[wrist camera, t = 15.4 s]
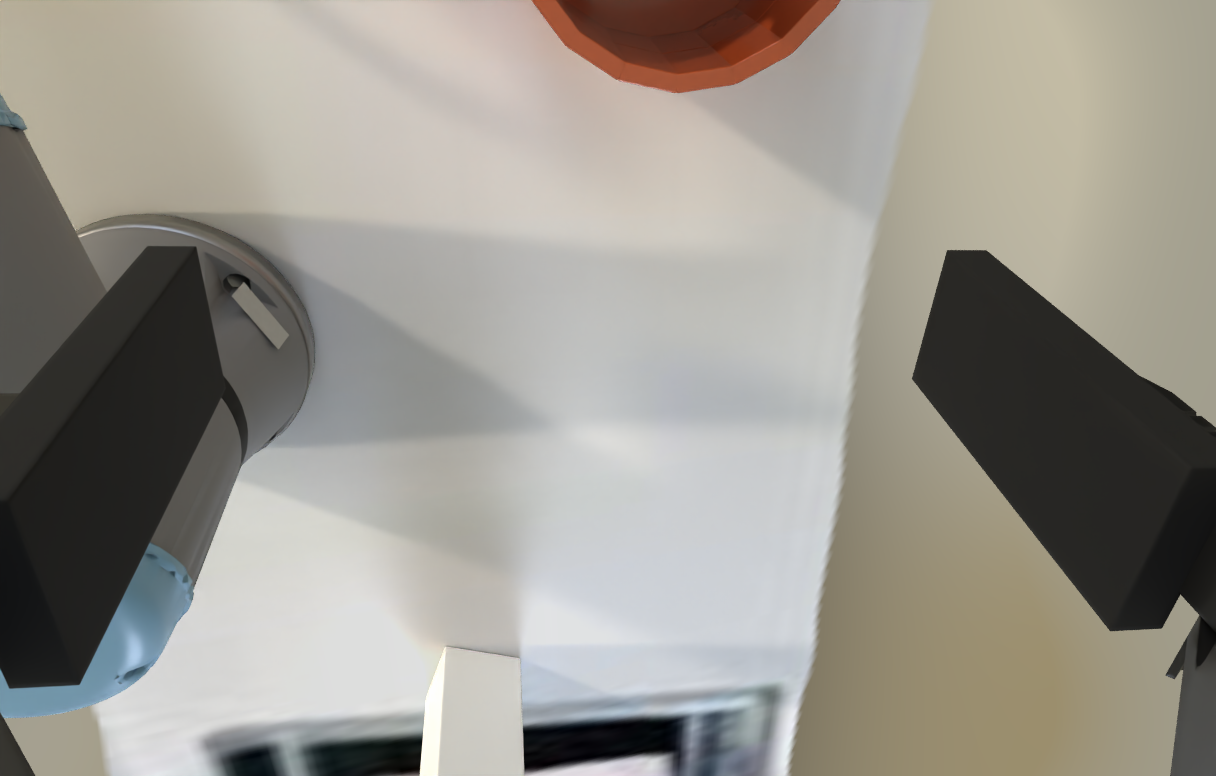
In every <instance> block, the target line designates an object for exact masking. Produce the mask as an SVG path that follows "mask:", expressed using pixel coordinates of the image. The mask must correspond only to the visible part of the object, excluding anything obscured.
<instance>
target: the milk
mask: <svg viewBox="0 0 1216 776" xmlns="http://www.w3.org/2000/svg"><path fill="white" fill-rule="evenodd" d="M420 776H524V753H523V721H522V690H521V660H520V658H516V657H509V656H503V655H497V654H491V653H484V652H478V651H472V650H466V649H459V648H453V647H445V649H444V651H443V654H442V657H441V659H440V662H439V665H438V667H437V670H436V673H435V675H434V678H433V681H432V683H431V686H430V689H429V691H428V694H427V697H426V706H425V718H424V731H423V743H422V756H421V768H420Z"/></svg>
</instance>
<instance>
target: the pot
mask: <svg viewBox="0 0 1216 776" xmlns="http://www.w3.org/2000/svg"><path fill="white" fill-rule="evenodd" d="M532 2H533V3H534V4H535V6H536V7H537V8H538V10H539V11H540V12H541V14H542V15H543V16H544V18H545V19H546V21H547V22H548V23H549V25H550V26H551V27H552V29H553V30H554V31H555V33H556V34H557V35H558V37H559V38H560V39H561V41H562V42H563V43H564V45H565V46H567V47H568V48H569V49H570V50H572V51H574V52H575V53H577V54H578V55H580V56H581V57H583V58H584V59H586V60H587V61H589V62H590V63H592V64H593V65H595V66H596V67H598V68H599V69H601V70H602V71H604V72H605V73H607V74H609V75H610V76H612V77H613V78H615V79H616V80H619V81H621V82H626V83H631V84H635V85H640V86H644V87H649V88H653V89H658V90H663V91H667V92H672V93H676V92H677V93H683V92H689V91H696V90H702V89H709V88H716V87H722V86H729V85H734V84H735V83H736V84H737V83H739V82H741V81H743V80H745V79H747V78H749V77H750V76H752V75H754V74H756V73H758V72H760V71H762V70H763V69H765V68H767V67H769V66H771V65H773V64H775V63H776V62H778V61H780V60H782V59H784V58H786V57H788V56H789V55H790V54H792V53H793V52H794V51H795V50H796V49H797V48H798V47H799V46H800V45H801V44H802V43H803V42H804V40H805V39H806V38H807V37H808V36H809V35H810V34H811V33H812V32H813V31H814V30H815V29H816V28H817V27H818V26H819V25H820V24H821V23H822V22H823V21H824V20H825V18H826V17H827V16H828V15H829V14H830V13H831V12H832V11H833V10H834V9H835V8H836V7H837V5H838V4H839V2H840V0H532Z"/></svg>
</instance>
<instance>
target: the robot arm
mask: <svg viewBox="0 0 1216 776" xmlns="http://www.w3.org/2000/svg"><path fill="white" fill-rule="evenodd" d="M26 129H27V127H26V125H25V123H24V121H23V119H22V118H21V117H20V116H19V115H18V114H16V113H14V112H11V111H10V109H9V107H8V106H7V104H6V102H5V101H4V99H3V97H2V96H1V94H0V776H35V774H34V773H33V771H32V769H31V767H30V765H29V763H28V762H27V760H26V758H25V756H24V755H23V753H22V751H21V749H20V747H19V745H18V744H17V742H16V740H15V738H14V736H13V735H12V733H11V731H10V729H9V727H8V726H7V724H6V722H5V720H4V718H22V717H23V718H24V717H36V716H46V715H53V714H59V713H64V712H69V711H73V710H77V709H80V708H84V707H87V706H90V705H93V704H96V703H98V702H101V701H103V700H106V699H108V698H110V697H112V696H114V695H116V694H118V693H120V692H121V691H123V690H125V689H127V688H128V687H130V686H131V685H132V684H134V683H135V682H136V681H137V680H139V679H140V678H141V677H142V676H143V675H145V674H146V673H147V671H148V670H149V669H150V668H151V667H152V666H153V665H154V664H155V662H156V661H157V659H158V658H159V656H160V655H161V653H162V652H163V650H164V648H165V646H166V644H167V641H168V640H169V638H170V636H171V634H172V632H173V630H174V628H175V626H176V624H177V622H178V621H179V620H180V619H181V617H182V616H183V615H184V614H185V613H186V612H187V611H188V609H189V607H190V605H191V602H192V600H193V595H194V593H193V589H194V587H195V584H196V581H197V579H198V576H199V574H200V571H201V568H202V566H203V563H204V561H205V558H206V555H207V553H208V550H209V548H210V545H211V543H212V540H213V537H214V535H215V532H216V530H217V527H218V524H219V522H220V519H221V517H222V514H223V511H224V509H225V506H226V504H227V501H228V498H229V496H230V493H231V491H232V488H233V486H234V483H235V481H236V478H237V476H238V473H239V470H240V468H241V466H242V465H243V464H244V463H245V462H246V461H247V460H248V459H249V458H250V457H251V456H252V455H253V454H255V453H256V452H258V451H260V450H261V449H263V448H264V447H266V446H267V445H268V444H269V443H271V442H272V441H273V440H274V439H276V438H277V437H278V436H279V435H280V434H281V433H282V432H283V431H284V430H285V429H286V428H287V427H288V426H289V425H290V424H291V422H292V421H293V420H294V418H295V417H296V415H297V413H298V412H299V410H300V408H301V406H302V404H303V401H304V399H305V396H306V393H307V390H308V387H309V384H310V381H311V378H312V374H313V369H314V363H315V346H314V338H313V333H312V328H311V325H310V322H309V318H308V316H307V314H306V311H305V309H304V307H303V305H302V303H301V301H300V299H299V298H298V296H297V294H296V293H295V291H294V290H293V288H292V287H291V285H290V284H289V283H288V282H287V280H286V279H285V278H284V277H283V276H282V274H281V273H280V272H279V271H278V270H277V269H276V268H275V267H274V266H273V265H272V264H271V263H270V262H269V261H267V260H266V259H265V258H264V257H263V256H262V255H260V254H259V253H258V252H256V251H255V250H253V249H252V248H251V247H249V246H248V245H246V244H245V243H243V242H241V241H240V240H238V239H236V238H235V237H233V236H231V235H229V234H227V233H225V232H223V231H220V230H218V229H215V228H213V227H210V226H208V225H205V224H202V223H199V222H196V221H192V220H188V219H184V218H179V217H173V216H166V215H154V214H136V215H125V216H118V217H113V218H109V219H104V220H101V221H98V222H95V223H92V224H90V225H88V226H86V227H83V228H81V229H79V230H77V231H76V232H75V230H74V228H73V226H72V224H71V222H70V220H69V218H68V216H67V214H66V212H65V211H64V209H63V207H62V205H61V203H60V201H59V199H58V197H57V195H56V193H55V191H54V189H53V187H52V186H51V184H50V182H49V180H48V178H47V176H46V174H45V172H44V170H43V168H42V166H41V164H40V162H39V161H38V159H37V157H36V155H35V153H34V151H33V149H32V147H31V145H30V143H29V141H28V139H27V137H26V136H25V134H24V132H23V130H26ZM912 379H913V381H914V382H915V383H916V385H917V386H918V387H919V388H920V390H921V391H922V392H923V393H924V395H925V396H926V397H927V399H928V400H929V401H930V402H931V404H932V405H933V406H934V408H935V409H936V410H937V411H938V413H939V414H940V415H941V416H942V418H943V419H944V420H945V422H946V423H947V424H948V425H949V427H950V428H951V429H952V430H953V432H954V433H955V434H956V436H957V437H958V438H959V439H960V441H961V442H962V443H963V444H964V446H965V447H966V448H967V449H968V451H969V452H970V453H971V455H972V456H973V457H974V458H975V459H976V461H977V462H978V464H979V465H980V466H981V467H982V469H983V470H984V471H985V472H986V474H987V475H988V476H989V478H990V479H991V480H992V481H993V483H994V484H995V485H996V486H997V488H998V489H999V490H1000V491H1001V493H1002V494H1003V495H1004V497H1005V498H1006V499H1007V500H1008V502H1009V503H1010V504H1011V505H1012V507H1013V508H1014V509H1015V511H1016V512H1017V513H1018V514H1019V516H1020V517H1021V518H1022V519H1023V521H1024V522H1025V523H1026V525H1027V526H1028V527H1029V528H1030V530H1031V531H1032V532H1033V534H1034V535H1035V536H1036V537H1037V539H1038V540H1039V541H1040V542H1041V544H1042V545H1043V546H1044V548H1045V549H1046V550H1047V551H1048V553H1049V554H1050V555H1051V556H1052V558H1053V559H1054V560H1055V561H1056V563H1057V564H1058V565H1059V567H1060V568H1061V569H1062V570H1063V572H1064V573H1065V574H1066V576H1067V577H1068V578H1069V579H1070V581H1071V582H1072V583H1073V584H1074V585H1075V587H1076V588H1077V590H1078V591H1079V592H1080V593H1081V594H1082V596H1083V597H1084V598H1085V600H1086V601H1087V602H1088V604H1089V605H1090V606H1091V607H1092V609H1093V610H1094V611H1095V612H1096V614H1097V615H1098V616H1099V617H1100V619H1101V620H1102V621H1103V623H1104V624H1105V625H1106V626H1107V628H1108V629H1109V630H1110V631H1120V630H1121V631H1123V630H1141V629H1161V628H1162V627H1163V625H1164V623H1165V621H1166V620H1167V618H1168V616H1169V614H1170V612H1171V611H1172V609H1173V607H1174V605H1175V603H1176V601H1177V600H1178V598H1179V596H1180V594H1181V595H1182V596H1183V597H1184V598H1185V600H1186V601H1187V602H1188V603H1189V604H1190V605H1191V606H1192V607H1193V608H1194V610H1195V611H1196V612H1198V614H1199V617H1198V619H1197V621H1196V622H1195V624H1194V626H1193V628H1192V629H1191V631H1190V633H1189V635H1188V636H1187V638H1186V640H1185V642H1184V643H1183V645H1182V647H1181V649H1180V651H1179V652H1178V654H1177V656H1176V658H1175V659H1174V661H1173V663H1172V665H1171V666H1170V668H1169V670H1168V672H1167V673H1166V676H1168V677H1170V678H1173V679H1175V678H1176V676H1177V675H1178V673H1179V672H1180V670H1183V677H1182V685H1181V694H1180V702H1179V711H1178V718H1177V726H1176V734H1175V742H1174V750H1173V759H1172V767H1171V775H1170V776H1216V427H1214V426H1213V425H1212V424H1211V423H1209V422H1208V421H1207V420H1206V419H1204V418H1203V417H1202V416H1196V412H1195V411H1194V410H1193V409H1192V408H1191V407H1189V406H1188V405H1187V404H1186V403H1184V402H1183V401H1182V400H1181V399H1180V398H1178V397H1177V396H1176V395H1175V394H1173V393H1172V392H1170V391H1168V390H1166V389H1164V388H1162V387H1160V386H1158V385H1156V384H1155V383H1153V382H1151V381H1149V380H1147V379H1145V378H1143V377H1141V376H1139V375H1137V374H1136V373H1135V372H1134V371H1133V370H1132V369H1130V368H1129V367H1128V366H1126V365H1125V364H1124V363H1123V362H1122V361H1121V360H1119V359H1118V358H1117V357H1115V356H1114V355H1113V354H1112V353H1111V352H1110V351H1108V350H1107V349H1106V348H1105V347H1103V346H1102V345H1101V344H1099V343H1098V342H1097V341H1096V340H1095V339H1094V338H1092V337H1091V336H1090V335H1089V334H1088V333H1086V332H1085V331H1084V330H1083V329H1081V328H1080V327H1079V326H1078V325H1077V324H1075V323H1074V322H1073V321H1072V320H1071V319H1069V318H1068V317H1067V316H1066V315H1064V314H1063V313H1062V312H1061V311H1060V310H1058V309H1057V308H1056V307H1055V306H1053V305H1052V304H1051V303H1050V302H1049V301H1047V300H1046V299H1045V298H1044V297H1042V296H1041V295H1040V294H1039V293H1038V292H1036V291H1035V290H1034V289H1033V288H1031V287H1030V286H1029V285H1028V284H1027V283H1025V282H1024V281H1023V280H1022V279H1021V278H1019V277H1018V276H1017V275H1015V274H1014V273H1013V272H1012V271H1011V270H1009V269H1008V268H1007V267H1006V266H1005V265H1003V264H1002V263H1001V262H1000V261H999V260H997V259H996V258H995V257H994V256H993V255H991V254H990V253H989V252H988V251H986V250H984V251H983V250H947V253H946V256H945V260H944V264H943V268H942V271H941V275H940V278H939V282H938V286H937V289H936V293H935V297H934V300H933V304H932V308H931V312H930V315H929V318H928V322H927V326H926V329H925V333H924V337H923V340H922V344H921V348H920V352H919V355H918V359H917V362H916V366H915V370H914V373H913V377H912Z"/></svg>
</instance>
